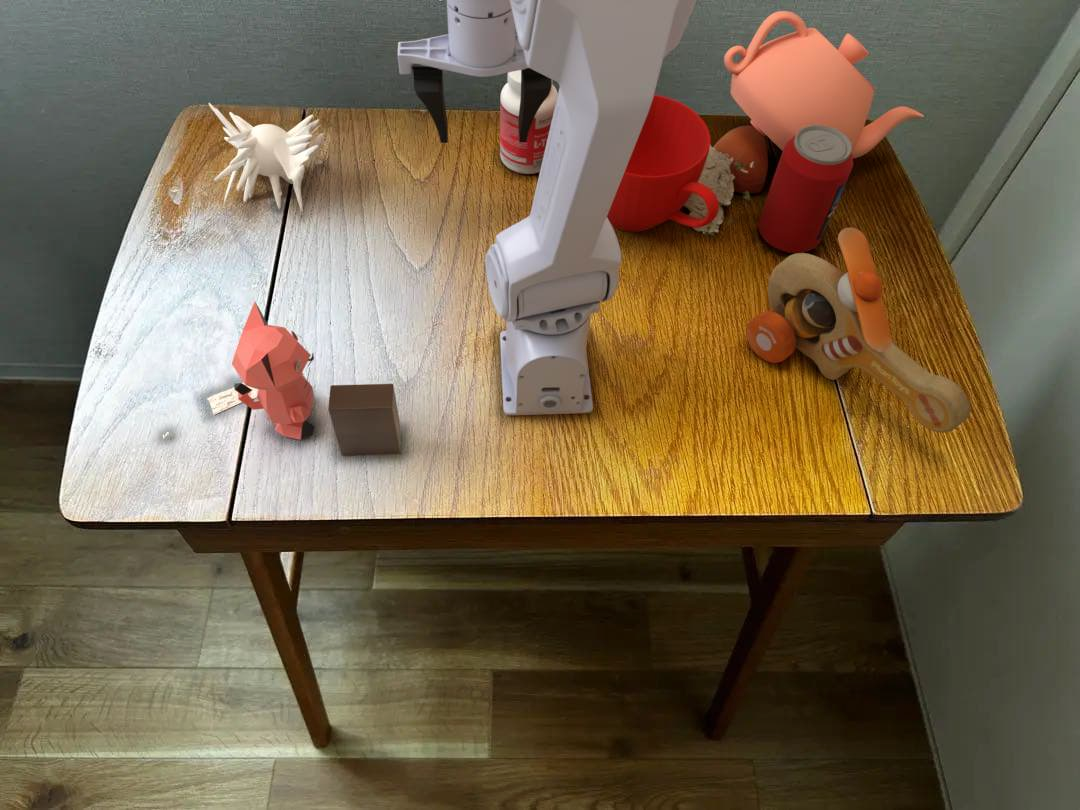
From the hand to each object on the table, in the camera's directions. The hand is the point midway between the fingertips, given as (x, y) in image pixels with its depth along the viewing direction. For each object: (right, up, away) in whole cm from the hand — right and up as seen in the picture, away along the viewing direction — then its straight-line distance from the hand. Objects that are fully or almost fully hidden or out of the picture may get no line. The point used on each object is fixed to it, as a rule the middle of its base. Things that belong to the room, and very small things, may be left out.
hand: (483, 136), depth 81 cm
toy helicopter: (+33, -23, -2) cm, 40 cm away
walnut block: (-9, -29, -8) cm, 31 cm away
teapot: (+31, +3, +13) cm, 34 cm away
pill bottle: (+4, +2, +14) cm, 15 cm away
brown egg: (+26, +3, +11) cm, 28 cm away
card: (-24, -26, -7) cm, 36 cm away
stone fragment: (+24, 0, +7) cm, 25 cm away
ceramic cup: (+16, -6, +9) cm, 20 cm away
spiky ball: (-23, -3, +10) cm, 25 cm away
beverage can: (+32, -8, +9) cm, 34 cm away
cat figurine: (-17, -27, -7) cm, 32 cm away
